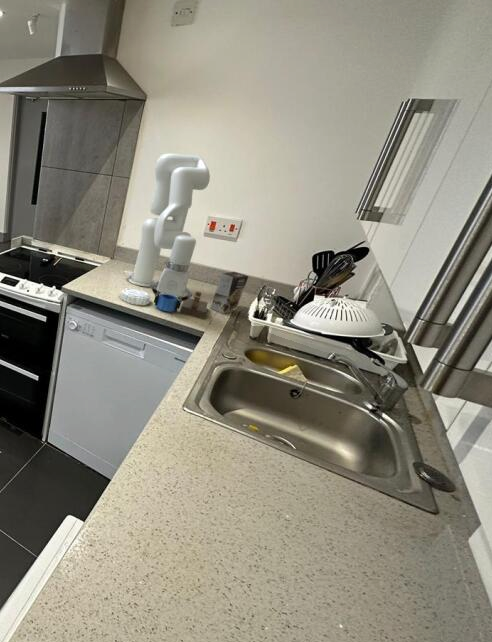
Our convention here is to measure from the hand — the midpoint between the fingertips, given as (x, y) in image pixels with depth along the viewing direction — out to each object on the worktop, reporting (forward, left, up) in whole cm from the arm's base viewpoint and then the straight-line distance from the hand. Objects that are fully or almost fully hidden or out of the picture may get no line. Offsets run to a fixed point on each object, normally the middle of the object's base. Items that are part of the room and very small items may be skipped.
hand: (165, 306), depth 163 cm
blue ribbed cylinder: (0, 0, 0) cm, 0 cm away
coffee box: (+21, +18, -1) cm, 28 cm away
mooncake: (-13, +2, -1) cm, 13 cm away
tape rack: (+10, +7, -1) cm, 12 cm away
